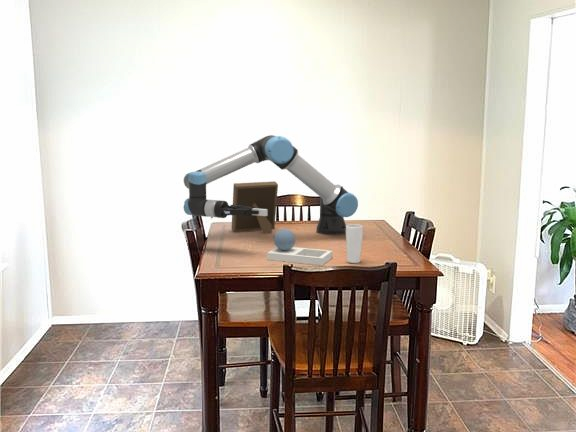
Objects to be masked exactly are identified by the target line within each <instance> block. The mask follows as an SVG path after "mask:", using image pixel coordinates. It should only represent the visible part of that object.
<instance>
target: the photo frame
mask: <svg viewBox="0 0 576 432" xmlns="http://www.w3.org/2000/svg"><path fill="white" fill-rule="evenodd" d="M278 188H279V185H278V183H277V181H259V182H258V181H257V182H239V183H237V182H236V183H235V182H234V183H233V191H232V192H233V193H232V205H235V206H237V205H241V206H247V207H253V206H254V208H257V209H267V211H268V216H257V215H252V214H251V216H252V217H249V215H248V216H241V215H231V230H232V231H233V233H238V232H239V233H240V231H242V232H251V231H252V232H253V231H254V230H255V231H262V233H263V234H273V232H272V231H273V230H274V229H275V225H276V214H277V200H278Z"/></svg>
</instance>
